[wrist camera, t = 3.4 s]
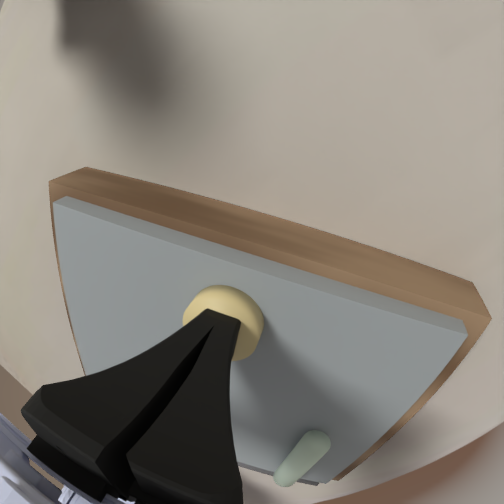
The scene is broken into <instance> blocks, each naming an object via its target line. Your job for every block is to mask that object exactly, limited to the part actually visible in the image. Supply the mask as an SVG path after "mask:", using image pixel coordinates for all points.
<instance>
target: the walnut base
mask: <svg viewBox="0 0 504 504" xmlns="http://www.w3.org/2000/svg"><path fill="white" fill-rule="evenodd" d="M49 195H50V208H51V219H52V228H53V237H54V244H55V251H56V258H57V264H58V270H59V276H60V281H61V286H62V291H63V296H64V301H65V305H66V310H67V314H68V318H69V322H70V326H71V330H72V334H73V337H74V341H75V344H76V348H77V351H78V355H79V358H80V361H81V357H80V354H79V350H78V347H77V343H76V339H75V336H74V332H73V328H72V324H71V319H70V315H69V311H68V306H67V301H66V297H65V292H64V286H63V281H62V275H61V269H60V263H59V256H58V249H57V241H56V233H55V223H54V212H53V202H54V201H57V200H59V199H61V198H63V197H65V196H69V197H72V198H75V199H78V200H81V201H84V202H88V203H91V204H94V205H97V206H100V207H103V208H107V209H110V210H113V211H116V212H119V213H122V214H125V215H129V216H132V217H135V218H138V219H141V220H144V221H148V222H151V223H154V224H157V225H160V226H163V227H167V228H170V229H173V230H176V231H179V232H182V233H186V234H189V235H192V236H195V237H198V238H201V239H205V240H208V241H211V242H214V243H217V244H220V245H224V246H227V247H230V248H233V249H236V250H240V251H243V252H246V253H249V254H252V255H255V256H259V257H262V258H265V259H268V260H271V261H275V262H278V263H281V264H284V265H287V266H291V267H294V268H297V269H300V270H303V271H306V272H310V273H313V274H316V275H319V276H322V277H326V278H329V279H332V280H335V281H338V282H342V283H345V284H348V285H351V286H354V287H358V288H361V289H364V290H367V291H371V292H374V293H377V294H380V295H383V296H387V297H390V298H393V299H396V300H399V301H403V302H406V303H409V304H412V305H416V306H419V307H422V308H425V309H428V310H432V311H435V312H438V313H441V314H445V315H448V316H451V317H454V318H457V319H461V320H463V323H464V325H465V328H466V330H467V333H468V336H467V338H466V339H465V341H464V342H463V343H462V345H461V346H460V348H459V349H458V350H457V352H456V353H455V354H454V356H453V357H452V358H451V360H450V361H449V362H448V364H447V365H446V366H445V367H444V369H443V370H442V371H441V373H440V374H439V375H438V376H437V377H436V379H435V380H434V381H433V382H432V384H431V385H430V386H429V387H428V388H427V389H426V391H425V392H424V393H423V394H422V395H421V396H420V397H419V399H418V400H417V401H416V402H415V403H414V404H413V405H412V406H411V407H410V408H409V410H408V411H407V412H406V413H405V414H404V415H403V416H402V417H401V418H400V419H399V420H398V421H397V422H396V423H395V424H394V425H393V426H392V427H391V428H390V429H389V430H388V431H387V432H386V433H385V434H384V435H383V436H382V437H381V438H380V439H379V440H378V441H376V442H375V443H374V444H373V445H372V446H371V447H370V448H369V449H368V450H367V451H365V452H364V453H363V454H362V455H361V456H360V457H359V458H357V459H356V460H355V461H354V462H353V463H352V464H350V465H349V466H348V467H347V468H345V469H344V470H343V471H342V472H341V473H339V474H338V475H337V476H335V477H334V478H333V479H332V480H337V481H338V480H340V479H341V478H343V477H344V476H345V475H347V474H348V473H349V472H350V471H352V470H353V469H354V468H356V467H357V466H358V465H359V464H361V463H362V462H363V461H364V460H366V459H367V458H368V457H369V456H370V455H372V454H373V453H374V452H375V451H376V450H377V449H379V448H380V447H381V446H382V445H383V444H384V443H385V442H387V441H388V440H389V439H390V438H391V437H392V436H393V435H394V434H395V433H396V432H397V431H398V430H399V429H401V428H402V427H403V426H404V425H405V424H406V423H407V422H408V421H409V420H410V419H411V418H412V417H413V416H414V415H415V414H416V413H417V412H418V411H419V410H420V409H421V408H422V406H423V405H424V404H425V403H426V402H427V401H428V400H429V399H430V398H431V397H432V396H433V395H434V393H435V392H436V391H437V390H438V389H439V388H440V387H441V386H442V384H443V383H444V382H445V381H446V380H447V378H448V377H449V376H450V375H451V374H452V372H453V371H454V370H455V369H456V368H457V366H458V365H459V364H460V363H461V361H462V360H463V359H464V357H465V356H466V355H467V353H468V352H469V351H470V349H471V348H472V347H473V345H474V344H475V343H476V341H477V340H478V338H479V337H480V336H481V334H482V333H483V331H484V330H485V328H486V327H487V325H488V324H489V322H490V321H491V319H492V318H491V316H490V314H489V312H488V310H487V308H486V306H485V304H484V302H483V300H482V298H481V296H480V295H479V293H478V291H477V289H476V287H475V286H474V284H473V283H472V282H470V281H467V280H464V279H462V278H459V277H456V276H454V275H451V274H448V273H445V272H443V271H440V270H437V269H434V268H431V267H429V266H426V265H423V264H420V263H417V262H414V261H411V260H409V259H406V258H403V257H400V256H397V255H394V254H391V253H388V252H385V251H382V250H379V249H376V248H373V247H370V246H367V245H364V244H361V243H358V242H355V241H352V240H349V239H346V238H342V237H339V236H336V235H333V234H330V233H327V232H323V231H320V230H317V229H314V228H311V227H307V226H304V225H301V224H298V223H294V222H291V221H288V220H284V219H281V218H278V217H274V216H271V215H267V214H264V213H261V212H257V211H254V210H250V209H247V208H243V207H240V206H236V205H233V204H229V203H226V202H222V201H218V200H215V199H211V198H207V197H204V196H200V195H196V194H193V193H189V192H185V191H181V190H178V189H174V188H170V187H166V186H162V185H158V184H154V183H150V182H146V181H142V180H138V179H134V178H130V177H126V176H122V175H118V174H114V173H109V172H105V171H101V170H97V169H92V168H88V167H84V168H82V169H79V170H76V171H74V172H71V173H68V174H66V175H63V176H61V177H58V178H56V179H53V180H51V181H49ZM81 364H82V361H81ZM82 368H83V371H84V374H85V370H84V367H83V364H82ZM85 376H86V374H85Z"/></svg>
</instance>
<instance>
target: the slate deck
mask: <svg viewBox="0 0 504 504" xmlns="http://www.w3.org/2000/svg"><path fill="white" fill-rule="evenodd" d="M53 212H54V223H55V233H56V241H57V249H58V256H59V263H60V269H61V275H62V281H63V286H64V292H65V297H66V301H67V306H68V311H69V315H70V319H71V324H72V328H73V332H74V336H75V339H76V343H77V347H78V350H79V354H80V357H81V361H82V364H83V367H84V370H85V374H86V376H87V375H90V374H94V373H97V372H100V371H103V370H105V369H108V368H110V367H113V366H115V365H118V364H120V363H122V362H125V361H127V360H129V359H131V358H133V357H135V356H137V355H139V354H141V353H143V352H144V351H146V350H148V349H150V348H151V347H153V346H155V345H156V344H158V343H160V342H161V341H163V340H164V339H166V338H167V337H169V336H170V335H172V334H173V333H175V332H176V331H178V330H179V329H180V328H182V327H183V326H185V325H186V324H187V323H189V322H190V321H191V320H192V319H194V318H195V317H196V316H197V315H199V314H200V313H201V312H202V311H203V310H205V309H207V308H209V309H211V310H214V311H217V312H220V313H222V314H225V315H228V316H231V317H234V318H237V319H239V320H240V322H241V326H240V330H239V334H238V338H237V342H236V347H235V351H234V355H233V358H232V360H231V370H230V412H231V424H232V432H233V440H234V447H235V453H236V458H237V463H238V466H241V467H244V468H247V469H250V470H254V471H257V472H261V473H264V474H268V475H271V476H273V479H274V481H275V483H276V484H278V485H279V486H282V487H289V486H291V485H293V484H294V483H295V482H300V483H305V484H310V485H315V486H317V485H318V484H319V482H320V483H325V484H326V483H328V482H329V481H330V480H332V479H333V478H334V477H335V476H337V475H338V474H339V473H341V472H342V471H343V470H344V469H345V468H347V467H348V466H349V465H350V464H352V463H353V462H354V461H355V460H356V459H357V458H359V457H360V456H361V455H362V454H363V453H364V452H365V451H367V450H368V449H369V448H370V447H371V446H372V445H373V444H374V443H375V442H376V441H378V440H379V439H380V438H381V437H382V436H383V435H384V434H385V433H386V432H387V431H388V430H389V429H390V428H391V427H392V426H393V425H394V424H395V423H396V422H397V421H398V420H399V419H400V418H401V417H402V416H403V415H404V414H405V413H406V412H407V411H408V410H409V408H410V407H411V406H412V405H413V404H414V403H415V402H416V401H417V400H418V399H419V397H420V396H421V395H422V394H423V393H424V392H425V391H426V389H427V388H428V387H429V386H430V385H431V384H432V382H433V381H434V380H435V379H436V377H437V376H438V375H439V374H440V373H441V371H442V370H443V369H444V367H445V366H446V365H447V364H448V362H449V361H450V360H451V358H452V357H453V356H454V354H455V353H456V352H457V350H458V349H459V348H460V346H461V345H462V343H463V342H464V341H465V339H466V338H467V336H468V333H467V330H466V328H465V325H464V323H463V320H461V319H457V318H454V317H451V316H448V315H445V314H441V313H438V312H435V311H432V310H428V309H425V308H422V307H419V306H416V305H412V304H409V303H406V302H403V301H399V300H396V299H393V298H390V297H387V296H383V295H380V294H377V293H374V292H371V291H367V290H364V289H361V288H358V287H354V286H351V285H348V284H345V283H342V282H338V281H335V280H332V279H329V278H326V277H322V276H319V275H316V274H313V273H310V272H306V271H303V270H300V269H297V268H294V267H291V266H287V265H284V264H281V263H278V262H275V261H271V260H268V259H265V258H262V257H259V256H255V255H252V254H249V253H246V252H243V251H240V250H236V249H233V248H230V247H227V246H224V245H220V244H217V243H214V242H211V241H208V240H205V239H201V238H198V237H195V236H192V235H189V234H186V233H182V232H179V231H176V230H173V229H170V228H167V227H163V226H160V225H157V224H154V223H151V222H148V221H144V220H141V219H138V218H135V217H132V216H129V215H125V214H122V213H119V212H116V211H113V210H110V209H107V208H103V207H100V206H97V205H94V204H91V203H88V202H84V201H81V200H78V199H75V198H72V197H69V196H65V197H63V198H61V199H59V200H57V201H54V202H53Z"/></svg>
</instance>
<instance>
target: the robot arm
mask: <svg viewBox="0 0 504 504" xmlns="http://www.w3.org/2000/svg"><path fill="white" fill-rule="evenodd" d="M240 326H241V322H240V320H239V319H237V318H234V317H231V316H228V315H225V314H222V313H220V312H217V311H214V310H211V309H209V308H207V309H205V310H203V311H202V312H201V313H200V314H199V315H197V316H196V317H195V318H194V319H192V320H191V321H190V322H189V323H187V324H186V325H185V326H183V327H182V328H180V329H179V330H178V331H176V332H175V333H173V334H172V335H170V336H169V337H167V338H166V339H164V340H163V341H161V342H160V343H158V344H156V345H155V346H153V347H151V348H150V349H148V350H146V351H144V352H143V353H141V354H139V355H137V356H135V357H133V358H131V359H129V360H127V361H125V362H122V363H120V364H118V365H115V366H113V367H110V368H108V369H105V370H103V371H100V372H97V373H94V374H90V375H87V376H84V377H80V378H77V379H73V380H68V381H63V382H58V383H53V384H47V385H43V386H42V387H41V388H40V389H39V390H37V391H36V392H35V394H34V395H33V396H32V397H31V398H30V399H29V401H28V402H27V403H26V404H25V406H23V408H22V409H21V413H22V416H23V417H24V418H25V420H26V421H27V422H28V424H29V425H30V426H31V428H32V429H33V430H34V431H35V432H36V434H37V436H36V437H35V438H34V440H33V441H31V440H30V439H29V438H28V437H27V436H25V435H24V434H23V433H22V432H21V431H20V430H19V429H17V428H16V427H15V426H14V425H13V424H12V423H11V422H10V421H9V420H8V419H7V418H6V417H5V416H3V415H2V414H1V413H0V504H243V492H242V480H241V476H240V472H239V468H238V463H237V458H236V453H235V447H234V440H233V432H232V424H231V412H230V370H231V360H232V358H233V355H234V351H235V347H236V342H237V338H238V334H239V330H240ZM28 457H29V458H30V459H31V460H32V461H33V462H35V463H36V464H37V465H38V466H39V467H41V468H42V469H43V470H45V471H46V472H47V473H49V474H50V475H51V476H52V477H54V478H55V479H56V480H58V481H59V482H61V483H62V484H63V485H65V486H64V487H63V489H62V490H60V489H59V488H57V487H56V486H55V485H54V484H52V483H51V482H50V481H48V480H47V479H46V478H45V477H44V476H42V475H41V474H40V473H39V472H38V471H36V470H35V469H34V468H33V467H32V466H30V464H29V458H28Z"/></svg>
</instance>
